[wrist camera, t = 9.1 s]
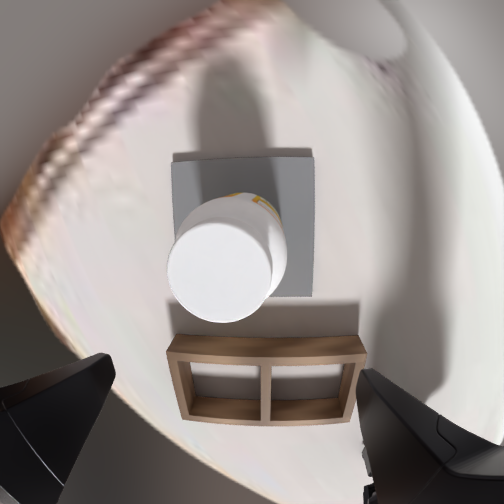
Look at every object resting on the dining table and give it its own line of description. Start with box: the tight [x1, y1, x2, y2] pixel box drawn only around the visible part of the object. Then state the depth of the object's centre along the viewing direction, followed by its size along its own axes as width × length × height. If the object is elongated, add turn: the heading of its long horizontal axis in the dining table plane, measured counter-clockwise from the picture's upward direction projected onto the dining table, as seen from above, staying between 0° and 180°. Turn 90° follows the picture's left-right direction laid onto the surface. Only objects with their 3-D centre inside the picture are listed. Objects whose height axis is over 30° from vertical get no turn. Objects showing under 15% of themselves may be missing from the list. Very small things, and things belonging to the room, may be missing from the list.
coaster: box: [171, 157, 315, 297], centre depth 20 cm, size 10×10×1 cm
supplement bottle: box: [167, 193, 287, 323], centre depth 15 cm, size 5×5×10 cm
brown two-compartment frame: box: [166, 334, 367, 426], centre depth 22 cm, size 15×8×3 cm, turn 92°
